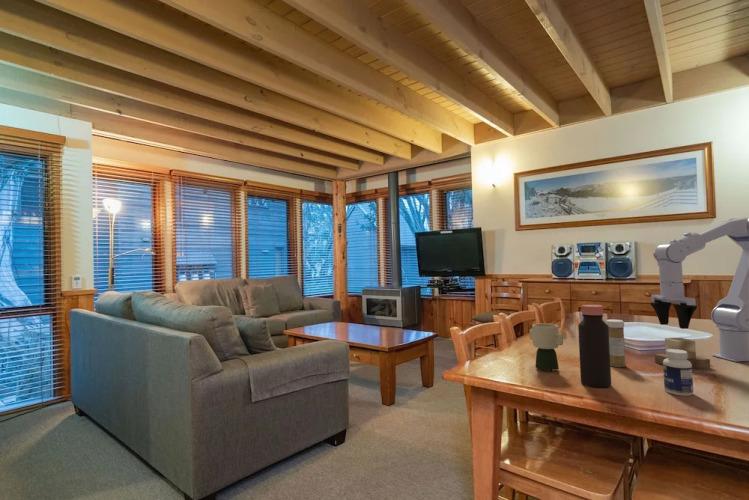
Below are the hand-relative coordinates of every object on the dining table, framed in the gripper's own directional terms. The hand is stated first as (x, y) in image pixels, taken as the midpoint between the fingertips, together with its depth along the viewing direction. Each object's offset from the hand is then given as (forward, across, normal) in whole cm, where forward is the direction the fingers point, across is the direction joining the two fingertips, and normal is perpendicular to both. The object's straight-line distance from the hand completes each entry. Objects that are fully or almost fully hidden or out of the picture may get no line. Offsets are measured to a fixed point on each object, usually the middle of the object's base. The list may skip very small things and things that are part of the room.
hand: (673, 326), depth 120 cm
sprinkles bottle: (+10, +3, -21) cm, 23 cm away
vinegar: (+10, +19, -37) cm, 43 cm away
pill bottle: (+10, +27, -22) cm, 37 cm away
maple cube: (+8, +6, -3) cm, 10 cm away
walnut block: (+11, +6, -3) cm, 12 cm away
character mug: (+10, +5, -43) cm, 44 cm away
